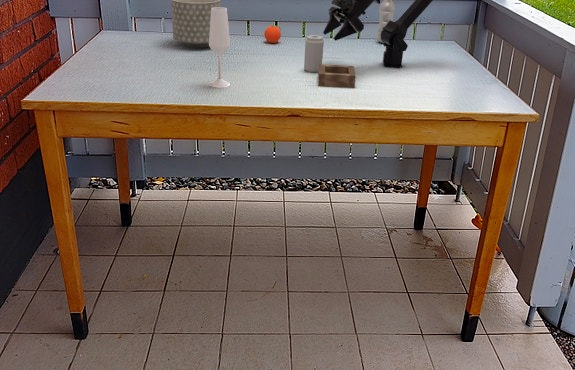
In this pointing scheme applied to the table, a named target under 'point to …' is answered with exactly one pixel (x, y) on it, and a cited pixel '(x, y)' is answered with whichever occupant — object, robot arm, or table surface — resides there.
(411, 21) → the robot arm
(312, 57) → the beverage can
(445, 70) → the table surface
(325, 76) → the socket block
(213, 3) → the planter
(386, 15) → the plastic bottle
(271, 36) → the clementine
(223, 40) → the champagne flute
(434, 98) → the table surface
